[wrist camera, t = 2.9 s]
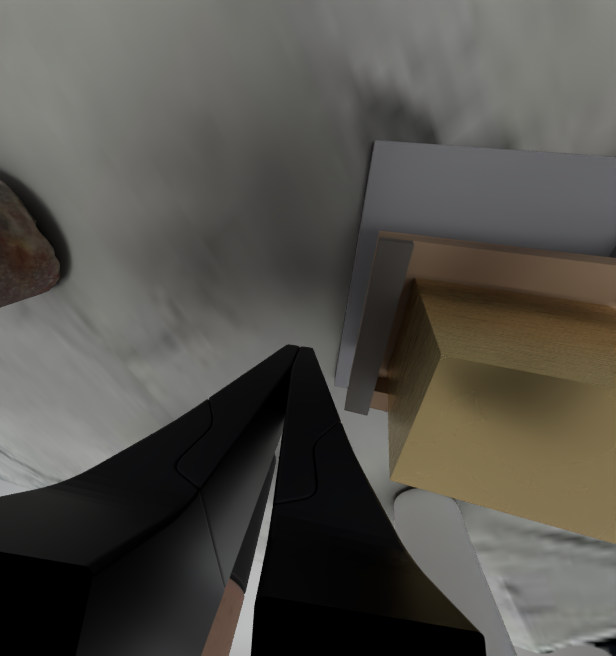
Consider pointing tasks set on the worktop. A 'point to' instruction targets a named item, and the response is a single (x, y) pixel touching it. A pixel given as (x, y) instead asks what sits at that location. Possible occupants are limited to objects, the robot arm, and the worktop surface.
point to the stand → (479, 207)
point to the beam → (461, 268)
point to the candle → (23, 252)
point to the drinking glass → (450, 561)
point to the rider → (507, 403)
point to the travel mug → (238, 580)
